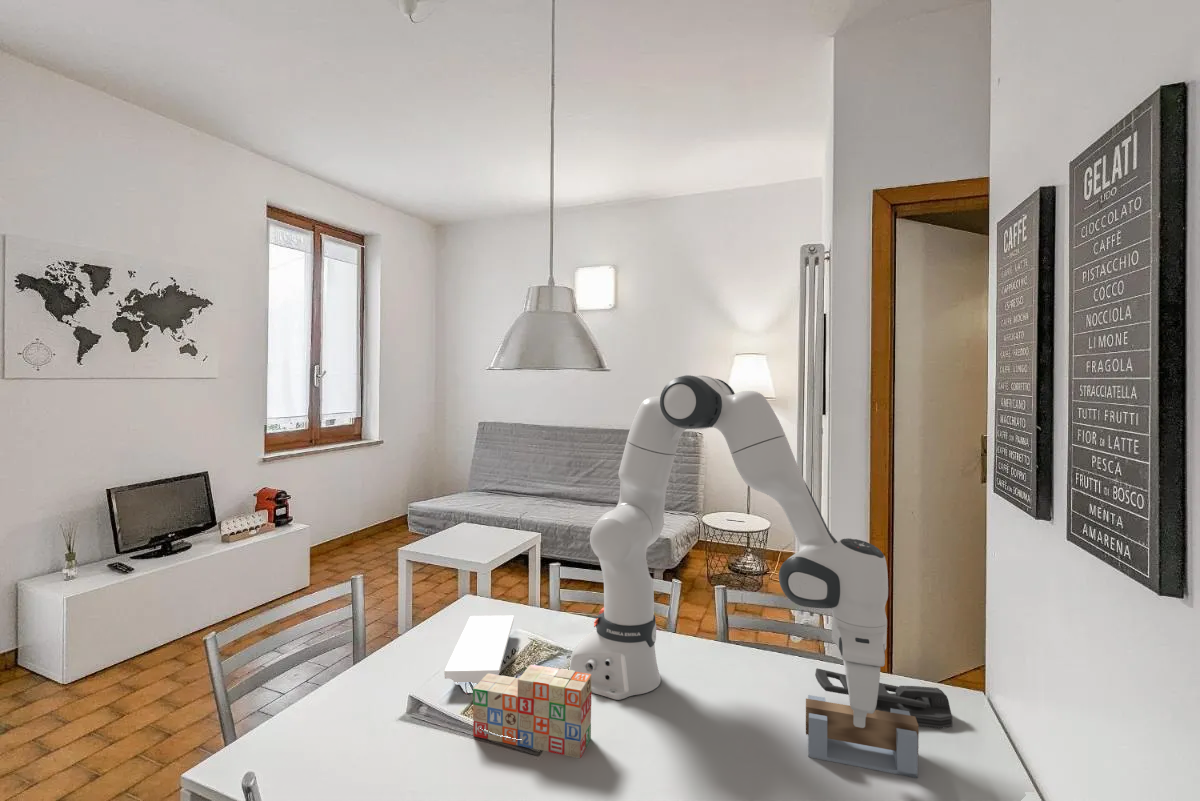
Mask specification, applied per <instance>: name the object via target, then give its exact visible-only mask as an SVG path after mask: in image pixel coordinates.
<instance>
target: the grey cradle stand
mask: <svg viewBox="0 0 1200 801" xmlns="http://www.w3.org/2000/svg"><path fill="white" fill-rule="evenodd" d="M807 699H812V700H818V701H825V702H827V701H826V697H822V696H817V695H813V694H812V695H810V694H807ZM890 712H891V713H897V714H904V715H910V713H909V711H904V710H898V709H892V708H890ZM910 716H911V715H910ZM807 742H808V744H807V747H808V758H813V759H817V760H822V761H823V760H824V761H828V762H833V763H837V764H842V765H843V764H844V765H847V766H854V767H858V768H863V769H868V770H872V771H878V772H879V771H880V772H884V773H889V774H894V775H899V776H904V777H909V778H914V779H918V775H919V774H918V764H919V763H918V762H919V761H918V760H919V759H918V755H919V738H918V735H917V732H916V731H911V730H905V729H899V728H896V751H894V750H888V749H883V748H878V747H872V746H867V745H861V744H856V743H850V742H845V741H839V740H834V739H829V738H827V716H823V715H818V714H812V713H809V735H807Z"/></svg>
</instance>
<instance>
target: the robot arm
mask: <svg viewBox="0 0 1200 801" xmlns="http://www.w3.org/2000/svg"><path fill="white" fill-rule="evenodd" d="M661 391H662V392H661V394H660V395H658V396H657V395H655V396H650V397H647V398H645V399H644V400H643V401H642V402H641V403H640V405H639V407H638V408H637V411H636V413H635V415H634V417H633V420H632V423H631V425H630V428H629V432H628V434H627V438H626V441H625V446H624V449H623V450H624V451H623V453H622V457H621V461H620V464H619V468H618V469H619V470H618V474H617V475H618V479H619V484H620V486H619V498H618V502H617V505H616V506H615V508H613V509H611V510H609V511H607V512H605V513H603V514H602V515H601V516H600V517H599V518H598V520H597V521H596V522H595V524H594V525H593V526H592V528H591V530H590V532H589V533H590V534H589V544H590V547H591V550H592V552H593V554H594V555H595V556H596V557H597V558H598V560H599V564H600V568H601V573H602V579H603V607H602V608H601V609H600V610H599V612H598V614H597V616H596V617H595V620H594V621H593V624H594V625H593V627H594V628H595V629H594V630H592V631H591V632H590V633H587V635H584V636H583V637H582V638H581V639H579V641H578V642H576V645H575V646H574V648H573V650H572V652H571V655H570V659H571V660H570V659H569V660H570V667H569V670H574V671H575V672H581V673H587V674H591V691H592V693H593V694H596V695H599V696H602V697H606V698H609V699H612V700H614V701H615V700H617V701H618V700H619V701H620V700H624V699H626V698H628V697H632V696H638V695H642V694H646V693H649V692H652V691H654V690H656V689H657V688H658V687H659V686H660V684H661V682H662V678H661V674H660V671H659V666H658V662H657V654H656V647H655V646H656V645H655V644H656V640H657V624H656V622H657V620H656V616H655V614H654V611H655V610H654V609H655V608H654V605H655V600H654V599H655V596H654V594H655V590H654V589H655V588H654V587H655V586H654V585H655V584H654V580H653V577H652V576H651V574H650V572H649V571H650V570H649V567H648V562H647V551H648V548H649V547H650V546H652V545H653V544H654V543H655V542H656V541H657V540H658V539H659V537H660V535H661V533H662V531H663V528H664V524H665V517H664V515H665V514H664V513H665V507H666V497H667V489H668V483H669V480H670V475H671V472H672V470H673V469H672V468H673V465H674V461H675V458H676V454H677V450H678V446H679V442H680V440H681V436H682V435H683V433H684V432H685V431H686V430H705V429H709V428H714V429H716V430H718V431H719V432H720V433H721V434H722V435H723V437H724V439H725V441H726V442H725V443H726V444H727V446H728V449H729V452H730V454H731V457H732V460H733V464H734V466H735V468H736V470H737V472H738V473H739V475H740V477H741V479H743V481H744V482H745V484H746V485H747V486H748V487H749V488H751V489H752V490H755V491H757V492H760V493H763V494H765V495H767V496H769V497H770V498H772V499H774V500H775V501H776V502H777V503H778V504H779V505H780V507H781V508H782V509H783V512H784V514H785V516H786V518H787V520H788V522H789V525H790V527H791V529H792V531H793V533H794V535H795V537H796V539H797V542H798V548H799V549H798V551H797V552H795V553H793V555H791V556H790V557H788V558H787V559H786V560H784V561H783V563H782V564H781V566H780V567H779V570H778V582H779V585H780V588H781V591H782V592H783V594H784V595H785V596H786V598H787V599H788V600H790V601H791V602H792V603H794V604H795V605H797V606H801V607H805V608H813V609H831V610H832V612H831V613H832V619H831V620H832V622H831V623H832V624H831V640H832V642H833V643H834V644H835V645H836V647H837V648H838V650H839V652H840V655H841V656H840V657H841V658H842V660H843V661H842V662H843V668H844V675H846V681H847V687H848V693H849V695H848V698H849V706H851V709H852V710H853V723H854V726H856V727H860V728H864V727H865V719H866V715H867V713H870V714H873V713H874V711H875V709H876V705H877V698H878V690H879V683H880V681H881V680H880V679H881V667H884V666H885V665H886V663H885V661H886V649H887V634H888V632H887V631H888V629H887V628H888V619H887V615H886V614H887V613H886V604H887V601H888V598H889V578H888V577H889V576H888V575H889V573H888V565H887V560H886V556H885V555H884V553H883V551H881V550H880V549H879V547H877V546H875V545H874V544H872V543H870V542H867V541H864V540H860V539H857V538H856V539H855V538H842V539H840V540H839V541H838V540H836V538H835V537H834V536H833V534H832V533H831V531H830V530H829V528H828V526H827V524H826V522H825V520H824V518H823V516H822V513H821V511H820V510H819V507H818V505H817V503H816V501H815V499H814V496H813V495H812V493H811V490H810V489H809V486H808V484H807V483H806V481H805V479H804V477H803V475H802V472H801V470H800V468H799V466H798V463H797V461H796V458H795V455H794V453H793V451H792V448H791V445H790V443H789V441H788V437H787V436H786V433H785V431H784V428H783V427H782V424H781V422H780V420H779V418H778V417H777V414H776V413H775V411H774V409H773V407H772V405H771V404H770V403H769V402H768V400H767V398H766V397H765V396H764V395H763V394H762V393H760V392H758V391H753V390H744V391H740V392H737V393H735V391H734V389H733V388H732V387H731V386H730V385H729V384H728V383H727V382H726V381H724V380H721V379H719V378H714V377H712V376H706V375H691V374H690V375H687V374H686V375H681V376H678V377H675V378H674V379H671V380H670V381H669V382H668V383H667V384H666V385H665V386H664V387H663V390H661Z"/></svg>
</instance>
